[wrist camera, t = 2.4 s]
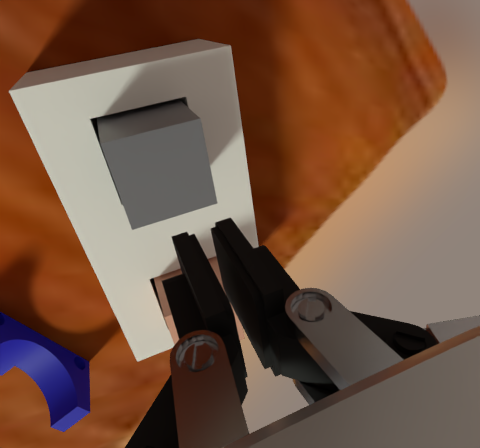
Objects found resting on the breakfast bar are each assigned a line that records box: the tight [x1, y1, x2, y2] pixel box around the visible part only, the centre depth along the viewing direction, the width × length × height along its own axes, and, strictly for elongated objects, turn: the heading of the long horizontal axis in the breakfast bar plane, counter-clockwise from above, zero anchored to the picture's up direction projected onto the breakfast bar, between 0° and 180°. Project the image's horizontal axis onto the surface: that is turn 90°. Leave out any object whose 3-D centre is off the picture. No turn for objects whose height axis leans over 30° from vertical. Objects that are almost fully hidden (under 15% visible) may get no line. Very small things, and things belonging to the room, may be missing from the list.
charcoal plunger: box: [96, 99, 217, 230], centre depth 22 cm, size 5×5×6 cm
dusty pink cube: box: [154, 256, 244, 345], centre depth 28 cm, size 5×5×6 cm
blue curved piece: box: [0, 312, 90, 432], centre depth 31 cm, size 12×4×6 cm, turn 31°
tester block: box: [9, 39, 259, 362], centre depth 28 cm, size 22×12×7 cm, turn 8°
